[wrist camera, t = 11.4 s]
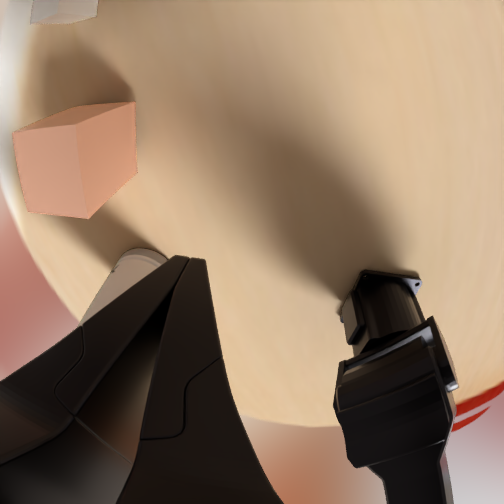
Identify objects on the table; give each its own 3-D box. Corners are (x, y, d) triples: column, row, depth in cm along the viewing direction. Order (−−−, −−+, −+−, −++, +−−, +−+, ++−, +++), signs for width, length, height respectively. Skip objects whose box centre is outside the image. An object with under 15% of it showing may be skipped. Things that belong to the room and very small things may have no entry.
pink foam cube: (135, 101, 16) (75, 124, 11) (137, 172, 19) (88, 219, 14) (75, 106, 16) (12, 132, 11) (81, 170, 19) (27, 212, 14)
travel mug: (108, 246, 24) (-3, 442, 8) (172, 246, 24) (74, 490, 8) (128, 295, 28) (52, 472, 12) (186, 299, 27) (125, 505, 11)
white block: (100, -13, 11) (62, -21, 7) (96, 16, 12) (57, 13, 9) (73, -4, 11) (34, -9, 7) (69, 24, 13) (29, 24, 9)
